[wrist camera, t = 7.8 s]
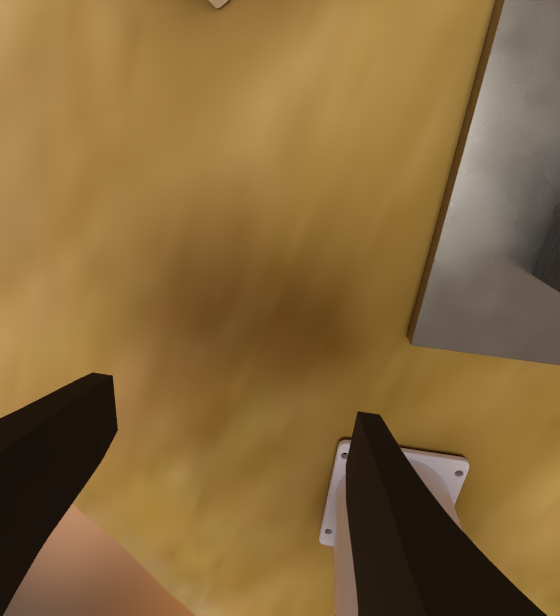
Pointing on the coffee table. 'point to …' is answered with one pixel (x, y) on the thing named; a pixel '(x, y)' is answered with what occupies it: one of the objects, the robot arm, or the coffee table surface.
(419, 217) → the coffee table surface
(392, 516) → the robot arm
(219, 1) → the syrup box
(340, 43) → the coffee table surface
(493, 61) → the metal plate with socket
